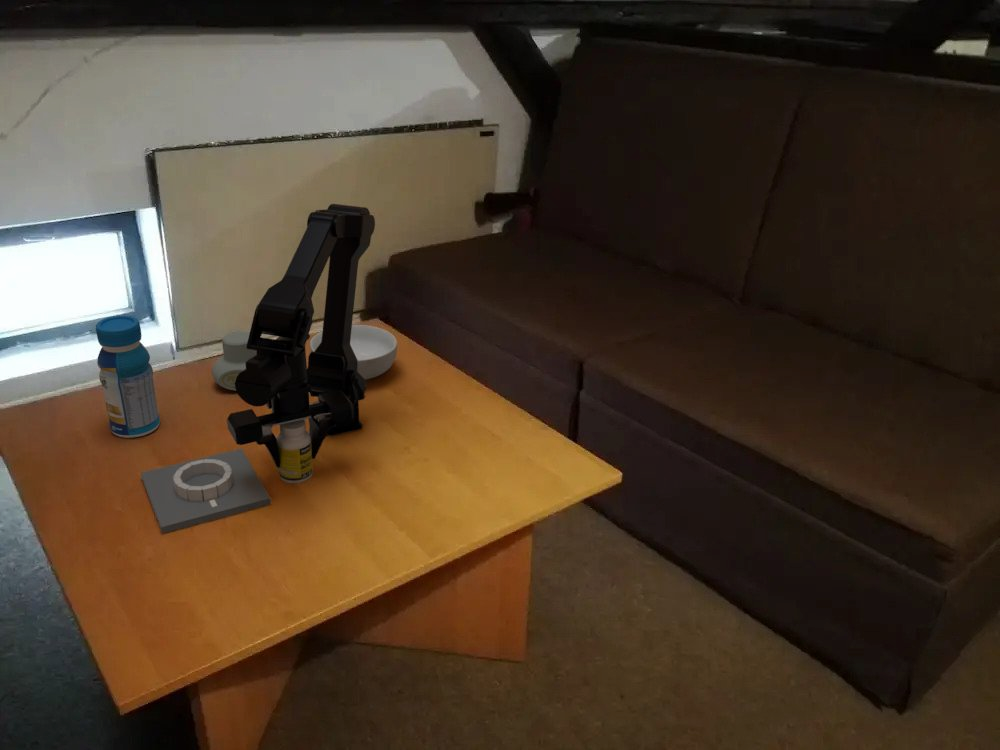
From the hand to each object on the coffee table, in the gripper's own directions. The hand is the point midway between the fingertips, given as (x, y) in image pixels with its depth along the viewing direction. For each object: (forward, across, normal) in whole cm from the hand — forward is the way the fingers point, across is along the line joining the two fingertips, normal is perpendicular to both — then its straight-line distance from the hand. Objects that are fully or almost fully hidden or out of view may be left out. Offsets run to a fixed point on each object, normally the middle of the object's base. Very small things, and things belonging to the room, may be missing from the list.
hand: (295, 462), depth 140 cm
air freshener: (+3, -1, -35) cm, 35 cm away
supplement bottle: (+3, 0, 0) cm, 3 cm away
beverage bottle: (+3, +20, -27) cm, 34 cm away
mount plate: (+2, +14, -2) cm, 14 cm away
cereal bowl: (+3, -22, -30) cm, 37 cm away
